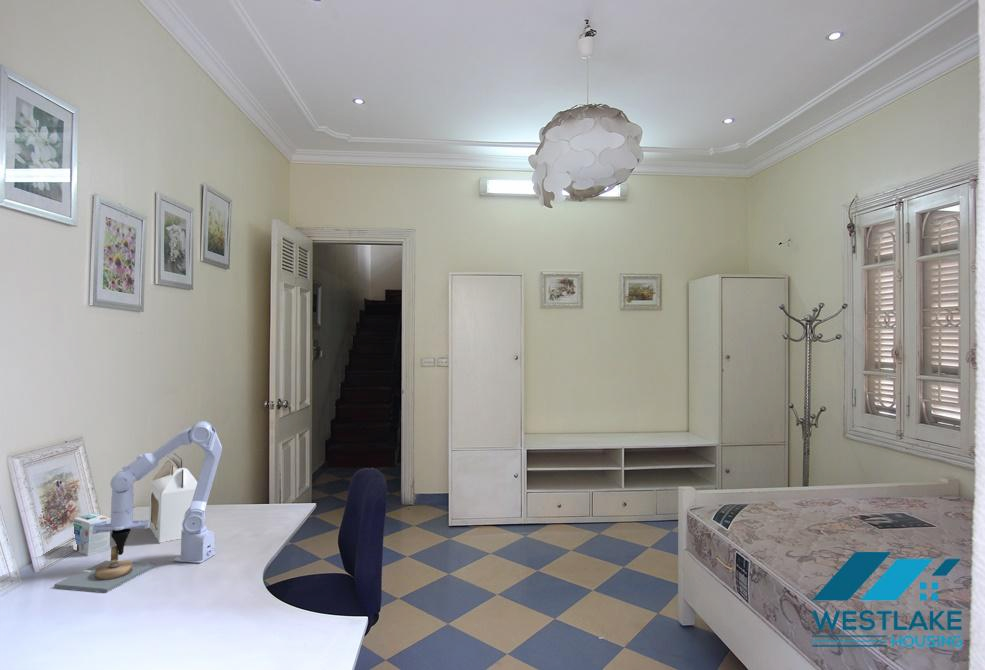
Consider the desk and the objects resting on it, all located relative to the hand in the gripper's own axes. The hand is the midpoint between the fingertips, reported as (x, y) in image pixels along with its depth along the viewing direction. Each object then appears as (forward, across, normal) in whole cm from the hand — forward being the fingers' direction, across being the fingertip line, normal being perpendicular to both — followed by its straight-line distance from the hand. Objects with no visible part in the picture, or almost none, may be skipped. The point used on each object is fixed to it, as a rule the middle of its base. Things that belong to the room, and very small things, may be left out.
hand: (120, 553), depth 163 cm
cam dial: (+3, 0, -5) cm, 6 cm away
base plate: (+4, -2, -6) cm, 8 cm away
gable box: (+5, +10, +32) cm, 34 cm away
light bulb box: (+5, -13, +21) cm, 25 cm away
